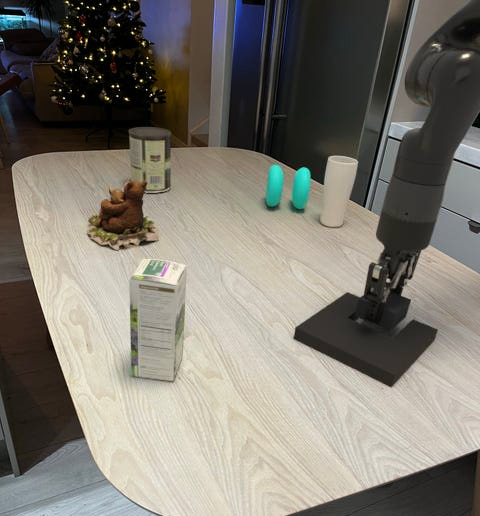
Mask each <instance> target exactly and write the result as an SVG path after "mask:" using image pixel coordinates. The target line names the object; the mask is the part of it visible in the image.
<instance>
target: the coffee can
mask: <svg viewBox="0 0 480 516" xmlns="http://www.w3.org/2000/svg"><path fill="white" fill-rule="evenodd" d="M128 134H129V135H128V136H129V137H128V138H129V157H130V159H129V161H130V181H138V182H140V183H142V182H143V181H144V180H145V181H147V185H146V187H145V192H147V193H155V192H156V193H157V192H164V191H167V190H169V189H170V188H171V189H172V187H171V186H172V185H171V184H172V183H171V181H172V180H171V176H172V175H171V174H172V173H171V168H172V167H171V161H172V160H171V156H172V154H171V151H172V149H171V148H172V147H171V142H172V141H171V137H172V132H171V131H170V130H168V129H166V128H163V127H153V126H138V127H132V128H130V129H129V130H128ZM171 189H170V190H171ZM170 190H169V191H170ZM167 192H168V191H167ZM147 193H146V194H147ZM164 193H165V192H164Z"/></svg>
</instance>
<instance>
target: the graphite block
mask: <svg viewBox="0 0 480 516" xmlns="http://www.w3.org/2000/svg"><path fill="white" fill-rule="evenodd" d="M376 292H377V293H378V291H377V290H376ZM363 296H364V294H363V295H362V296H359V297H360V298H359V300H358V304H357V308H356V312H355V316H356V317H358V318H357V319H361V320H363V321H365V322H367V323H369V324H372V325H375V326H376V327H379V328H381V329H383V330H385V331H388V332H391V331H392V330H394V328H395V327H397V326H398V325H399V324H400V323H402V321H403V320H405V318H407V315H408V312H409V309H410V305H411V302H412V299H411V298H409V297H406V296H403V295H398V294H396V293H393V292H390V293H389V295H388V297H387V300H386V302H385V306H384V309H383V312H382V316H381V320H380V322H379V323H377V324H374V323H372V322H370V321H368V320H366V319H365V315H366V311H367V308H368V304H369V300H367V299H365V298H363Z"/></svg>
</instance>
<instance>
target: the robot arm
mask: <svg viewBox="0 0 480 516" xmlns="http://www.w3.org/2000/svg"><path fill="white" fill-rule="evenodd" d="M404 90H405V91H404V92H405V94H406V96H407V97H408V99H409V100H410V101H411V102H413V103H414V104H416V105H418V106H420V107H424V108H427V109H430V110H429V112H428V115H427V116H426V118H425V120H424V122H423V124H422V126H421V127H416V128H411V129H409V130H407V131H406V132H405V133H404V134H403V135H402V137H401V139H400V143H399V146H398V149H397V153H396V158H395V161H394V164H393V165H394V166H393V169H392V174H391V177H390V179H389V182H388V185H387V187H386V190H385V195H384V199H383V202H382V207H381V211H380V215H379V219H378V223H377V227H376V231H375V237H376V240H377V241H378V242H379V243H381V244H382V245H383V250H382V251H381V252H380V253H379V256H378V258H377V260H376V261H377V263H376V262H373V261H371V262H370V264H368V269H367V275H366V280H365V285H364V289H363V290H364V291H363V295H364V296H363V295H362V296H363V298H365V299H367V300H369V304H368V308H367V311H366V315H365V319H366V320H368V321H370V322H372V323H374V324H377V323H379V322H380V320H381V316H382V312H383V309H384V306H385V302H386V300H387V297H388V295H389V293H390V292H393V293H396V294H398V295H401V296H403V295H402V294H403V291H404V288H405V287H406V286H407V285H408V281H411V280H412V279H413V277H414V274H415V270H416V268H417V265H418V263H419V259H420V256H421V253H422V251H424V250H426V249H427V248H428V247H429V246H430V243H431V241H432V237H433V234H434V231H435V227H436V224H437V221H438V217H439V214H440V211H441V208H442V205H443V201H444V195H445V190H446V186H447V182H448V178H449V176H450V172H451V169H452V166H453V162H454V158H455V154H456V153H457V151H458V148H459V147H460V145H461V144H462V143H463V140H464V139H465V138H466V136H467V134H468V132H469V131H470V129H471V127H472V125H473V124H474V122H475V120H476V118H477V117H478V115H479V113H480V0H468V1H467V2H466V3H464V5H463V6H461V7H460V8H459V9H458V10H457V11H455V12H454V13H453V14H452V15H451V16H450V17H449V18H448V19H447V20H446V21H445V22H444V23H443V24H442V25H440V26H439V27H438V28H437V29H436V30H435V31H434V32H433V33H432V34H431V35H430V36H429V37H428V38H427V39H426V40H425V41H424V42H423V43H422V44H421V46H420V47H419V48H418V49H417V51H416V52H415V53H414V54H413V56H412V59H411V60H410V62H409V64H408V67H407V69H406V72H405V76H404ZM387 280H389V281H387ZM376 290H377V291H378V293H377V292H376ZM370 322H369V323H370ZM372 323H371V324H372ZM374 324H373V325H374Z"/></svg>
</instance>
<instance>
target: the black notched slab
mask: <svg viewBox="0 0 480 516" xmlns="http://www.w3.org/2000/svg"><path fill="white" fill-rule="evenodd" d="M360 297H361V296H358V295H356V294H353V293H351V292H349V291H346V292H345V293H344V294H342V295H341V296H339V297H338V298H337V299H335V300H333V301H332V302H330V303H329V304H328V305H326V306H324V307H322V308H321V309H320V310H319V311H317V312H316V313H314V314H313V315H311V316H310V317H309V318H307V319H306V320H304V321H303V322H301V323H299V324H298V325H297V326H295V328H294V333H293V339H294V340H296V341H298V342H300V343H302V344H304V345H306V346H308V347H310V348H313V349H314V350H316V351H318V352H320V353H322V354H324V355H326V356H328V357H331V358H332V359H334V360H336V361H339V362H341V363H342V364H344V365H347V366H348V367H350V368H352V369H354V370H356V371H358V372H360V373H362V374H365V375H366V376H369V377H371V378H373V379H374V380H376V381H379V382H381V383H383V384H385V385H386V386H389V387H392V388H393V386H394V385H395V383H396V382H397V381H399V379H400V378H401V377H402V376H403V375H404V374H405V373H406V372H407V371H408V370H409V369H410V367H411V366H412V365H414V363H415V362H416V361H417V360H418V359H419V358H420V357H421V355H422V354H423V353H424V352H425V351H426V350H427V348H429V346H431V344H432V343H433V342H434V341H435V340H436V337H437V334H438V331H439V329H438V328H436V327H433V326H430V325H429V324H427V323H424V322H422V321H418V320H416V319H414V318H412V319H411V320H410V321H409V322H407V324H406V325H405V326H403V327H402V328H401V329H399V331H398V332H397V333H396V334H395V335H394V336H393V337H392V336H390V335H387V334H385V333H383V332H381V331H379V330H377V329H374V328H372V327H369V326H367V325H365V324H362V323H360V322H357V321H356V320H358V319H359V318H358V317H356V316H355V312H356V308H357V304H358V300H359V298H360Z"/></svg>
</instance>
